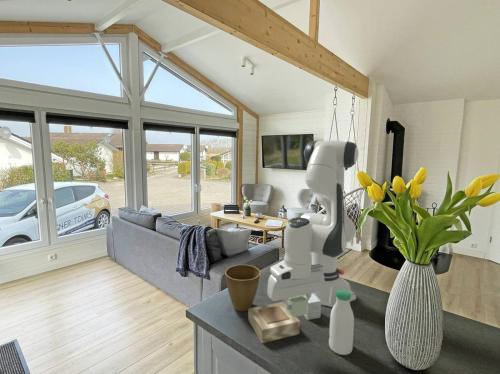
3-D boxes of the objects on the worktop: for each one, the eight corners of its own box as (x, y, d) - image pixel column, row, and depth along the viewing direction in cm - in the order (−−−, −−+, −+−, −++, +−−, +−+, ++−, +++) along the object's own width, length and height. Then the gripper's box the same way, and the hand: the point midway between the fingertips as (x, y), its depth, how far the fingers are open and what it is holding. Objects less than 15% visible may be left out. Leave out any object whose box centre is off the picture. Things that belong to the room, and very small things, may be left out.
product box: (313, 309, 116) (314, 293, 115) (320, 318, 110) (321, 301, 109) (300, 311, 114) (300, 295, 113) (307, 320, 108) (307, 303, 108)
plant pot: (218, 306, 118) (218, 270, 116) (244, 294, 128) (244, 261, 126) (240, 321, 107) (240, 283, 105) (266, 307, 117) (267, 272, 115)
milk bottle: (357, 353, 91) (360, 296, 88) (337, 358, 88) (340, 300, 86) (343, 338, 98) (346, 285, 96) (324, 342, 96) (326, 288, 93)
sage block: (299, 305, 94) (299, 292, 94) (306, 314, 90) (307, 299, 89) (286, 308, 93) (286, 295, 92) (293, 317, 88) (293, 302, 87)
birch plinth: (282, 313, 113) (282, 301, 112) (299, 333, 100) (300, 320, 99) (248, 320, 108) (248, 307, 107) (262, 343, 95) (262, 329, 94)
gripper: (318, 259, 96) (317, 296, 98) (265, 268, 89) (265, 307, 91) (329, 266, 90) (328, 305, 92) (273, 276, 83) (273, 318, 85)
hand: (296, 306), depth 91 cm, fingers closed on sage block, 5 cm apart
